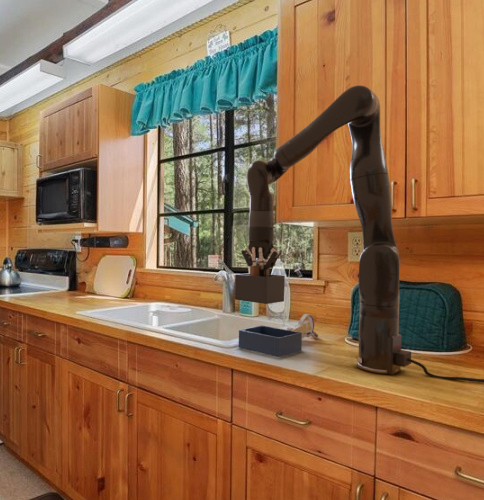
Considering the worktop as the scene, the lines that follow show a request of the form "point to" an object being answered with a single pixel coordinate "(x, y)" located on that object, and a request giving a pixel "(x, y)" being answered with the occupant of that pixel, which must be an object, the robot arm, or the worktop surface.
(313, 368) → the worktop surface
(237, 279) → the upper tote
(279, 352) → the box
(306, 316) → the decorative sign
